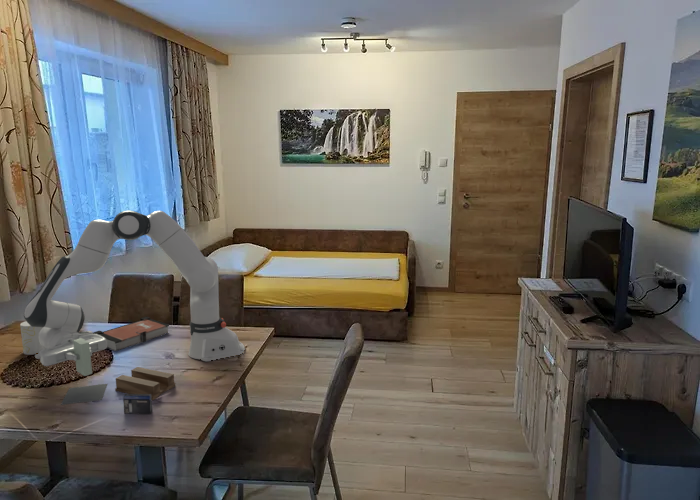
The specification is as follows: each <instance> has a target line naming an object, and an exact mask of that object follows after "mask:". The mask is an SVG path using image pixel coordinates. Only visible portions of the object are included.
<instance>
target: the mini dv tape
mask: <svg viewBox="0 0 700 500" xmlns="http://www.w3.org/2000/svg"><path fill="white" fill-rule="evenodd" d="M122 398H123V400H122V401H123V412H124V415H125V414H126V415H128V414H129V415H151V414H152V413H153V400H152V396H151V394H127V393H124V395H122Z"/></svg>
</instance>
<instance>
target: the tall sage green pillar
mask: <svg viewBox="0 0 700 500" xmlns="http://www.w3.org/2000/svg"><path fill="white" fill-rule="evenodd" d="M73 343H74V352H75V354H79V355H80V357H79V358H80V360H77V361H75V368H76V369H75V370H76V372H78V373H79V374H80V375H82V376H83V377H86V376H90V375H92V374H93V367H92V358H91V357H92V356H90V346H89V342H87V341H86V340H84V339H82V338H79V339H76V340H73Z"/></svg>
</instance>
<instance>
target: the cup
mask: <svg viewBox="0 0 700 500" xmlns="http://www.w3.org/2000/svg"><path fill="white" fill-rule="evenodd" d="M42 328H44V327H32V326H30V325H29V324H28V323H27V321H26V320H25V321H23V322H21V323H20V334H21V343H22V352H23V354H24V355H26V356H27V355H28V356H29V355H36V353H39V352H40V351H41V350H43V349H45V348H44V347H43V346H42V345H41V344H40V342H39V338H38V336H39V332H40V331H41V329H42Z"/></svg>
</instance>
